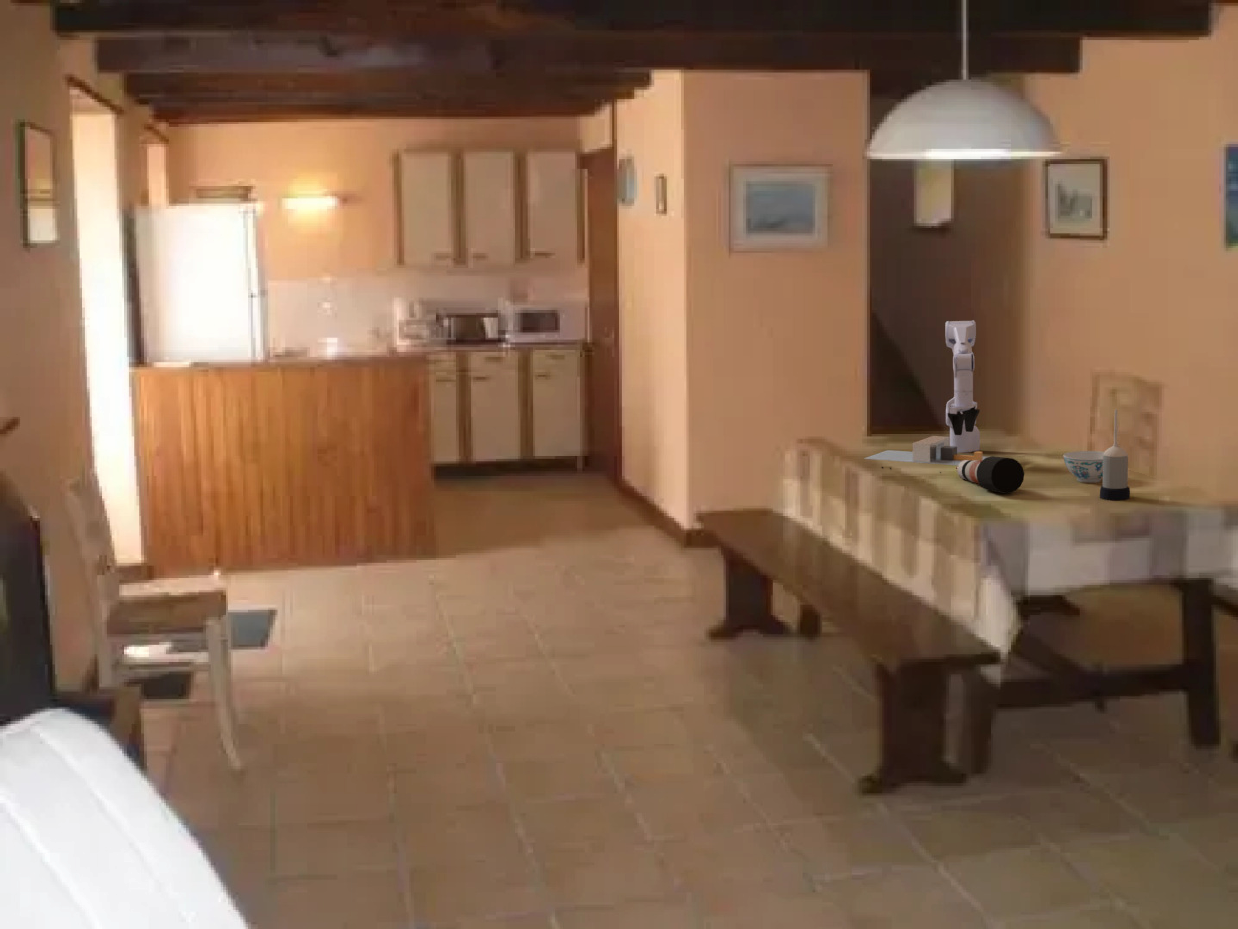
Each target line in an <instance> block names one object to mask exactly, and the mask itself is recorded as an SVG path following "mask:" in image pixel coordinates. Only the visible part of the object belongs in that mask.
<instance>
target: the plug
mask: <svg viewBox="0 0 1238 929" xmlns="http://www.w3.org/2000/svg"><path fill="white" fill-rule="evenodd" d="M983 457H984V454H983V451H980V450H979V451H973V455H968V454H958V453H957V447H956V446H944V447H941V460H949V461H953V460H961V461H964V460H983Z"/></svg>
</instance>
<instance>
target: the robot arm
mask: <svg viewBox="0 0 1238 929" xmlns="http://www.w3.org/2000/svg"><path fill="white" fill-rule="evenodd" d="M944 325H945V334H944V335H945V344H946V347H947V348H950V349H951V350H952V353H953V354H952V355H953V357H952V368H953V390H954V391H953V398H951V399H949V400H948V401H947V402H946V405H945V406H946V407H945V424H946V425H947V426H948V427H949V437H950V446H956V447H957V454H959V453H961V454H962V453H964V454H965V453H971V452H976V451H979V452H980V450H981V447H980V446H981V445H980V444H981V442H980V440H981V439H980V437H981V435H980V430H979V428H978V427H977V426H976V424H977V417H978V415H979V413H981V412H980V411H981V410H980V409H978V402H976V401H974V371H975V355H974V352H973V350H972V349H973V348H972V347H974V346H975V343H976V337H977V335H976V334H977V324H976V321H975V320H974V319H973V320H959V321H958V320H955V321H954V320H953V321H952V320H951V321H949V320H947V321H946V322H945V324H944Z"/></svg>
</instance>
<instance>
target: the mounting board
mask: <svg viewBox="0 0 1238 929" xmlns="http://www.w3.org/2000/svg"><path fill="white" fill-rule="evenodd" d="M987 457H988V456H983V460H984V459H985V458H987ZM863 459H865V460H877V461H878V460H879V461H892V462H893V461H894V462H902V463H904V462H906V463H915V462H914V461H913V451H907V450H906V451H905V450H904V451H903V450H892V449H891V450H890V449H887V450H884V451H881V452H879V453H875V454H873V455H870V456H867V457H864V458H863ZM960 462H962V461H961V460H953V461H949V460H941V457H936V461H933V462H930V463H928V462H916V463H919V464H920V463H921V464H932V465H934V464H935V465H949V466H958V465H959V464H960Z"/></svg>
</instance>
